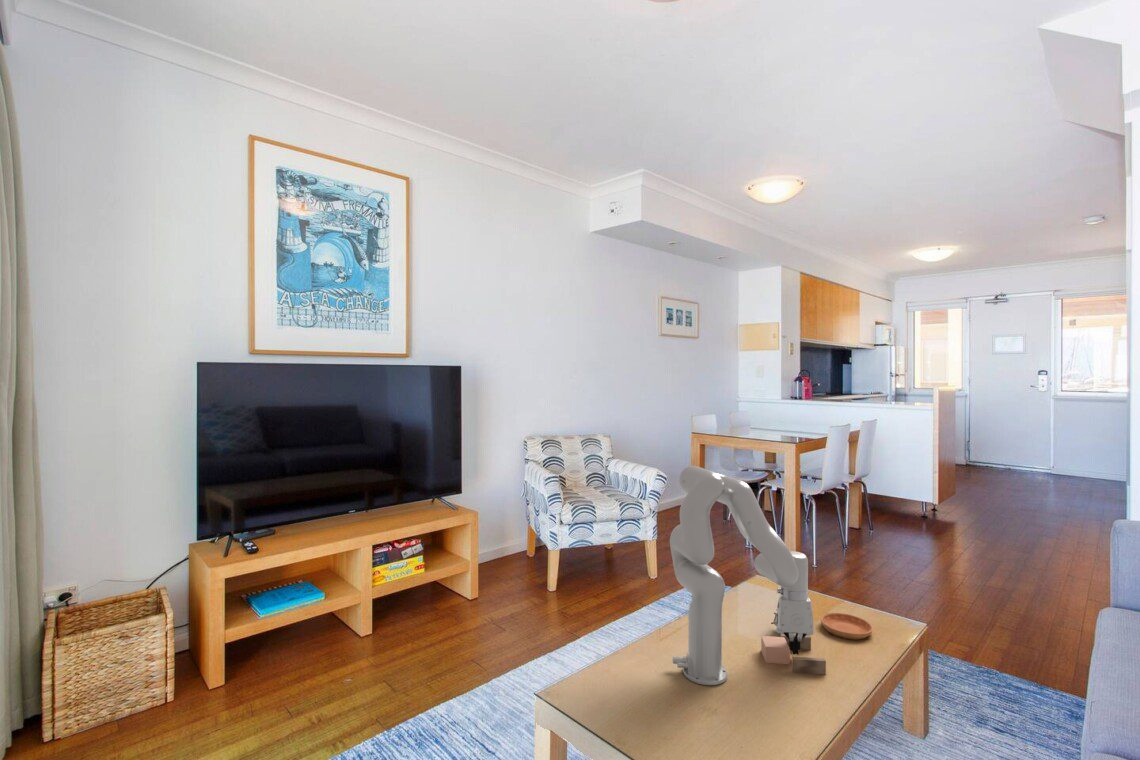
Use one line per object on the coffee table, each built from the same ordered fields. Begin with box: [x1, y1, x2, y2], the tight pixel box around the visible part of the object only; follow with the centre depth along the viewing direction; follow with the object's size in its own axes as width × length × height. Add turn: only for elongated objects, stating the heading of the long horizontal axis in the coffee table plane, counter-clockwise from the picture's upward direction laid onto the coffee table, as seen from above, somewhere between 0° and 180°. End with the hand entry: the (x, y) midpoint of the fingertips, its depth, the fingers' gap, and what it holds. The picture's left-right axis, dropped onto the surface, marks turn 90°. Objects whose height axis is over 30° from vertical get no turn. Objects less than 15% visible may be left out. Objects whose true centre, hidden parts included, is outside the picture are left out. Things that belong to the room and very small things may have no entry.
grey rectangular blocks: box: [779, 633, 827, 676], centre depth 172 cm, size 9×16×4 cm, turn 173°
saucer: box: [820, 612, 874, 640], centre depth 191 cm, size 16×16×3 cm
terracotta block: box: [760, 635, 791, 665], centre depth 173 cm, size 7×7×5 cm
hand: (794, 652), depth 172 cm, fingers closed
